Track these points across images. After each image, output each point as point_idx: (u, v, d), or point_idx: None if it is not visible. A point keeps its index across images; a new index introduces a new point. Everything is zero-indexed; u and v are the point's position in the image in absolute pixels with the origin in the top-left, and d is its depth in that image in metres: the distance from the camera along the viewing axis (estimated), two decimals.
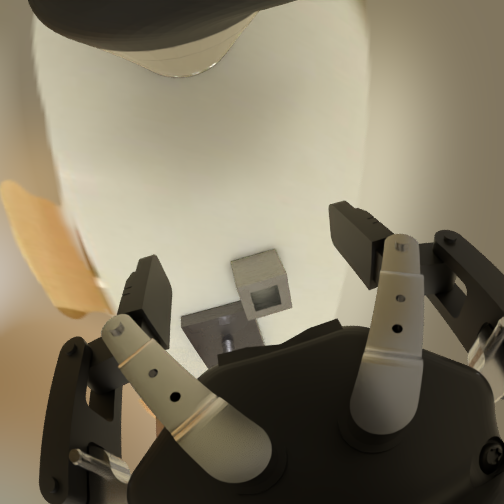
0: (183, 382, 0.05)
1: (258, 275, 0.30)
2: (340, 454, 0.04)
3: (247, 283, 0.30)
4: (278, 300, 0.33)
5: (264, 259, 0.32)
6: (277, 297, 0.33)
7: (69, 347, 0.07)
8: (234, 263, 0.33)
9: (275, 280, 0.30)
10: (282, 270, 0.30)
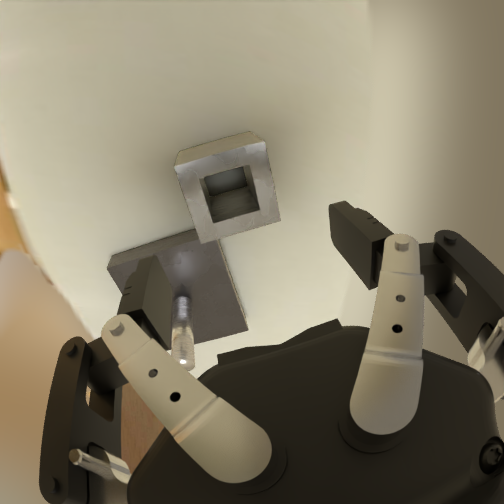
0: (183, 382, 0.05)
1: (215, 150, 0.16)
2: (340, 454, 0.04)
3: (194, 159, 0.16)
4: (255, 206, 0.18)
5: (230, 139, 0.18)
6: (254, 203, 0.19)
7: (69, 347, 0.07)
8: (183, 150, 0.19)
9: (244, 154, 0.16)
10: (257, 140, 0.16)
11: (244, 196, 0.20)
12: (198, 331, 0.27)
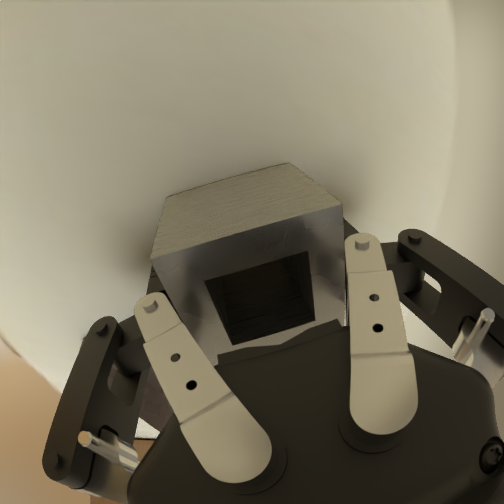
0: (202, 372, 0.05)
1: (234, 215, 0.08)
2: (340, 454, 0.04)
3: (192, 242, 0.08)
4: (304, 309, 0.10)
5: (259, 181, 0.10)
6: (300, 300, 0.11)
7: (100, 327, 0.07)
8: (174, 198, 0.11)
9: (301, 231, 0.08)
10: (323, 198, 0.08)
11: (279, 277, 0.12)
12: None
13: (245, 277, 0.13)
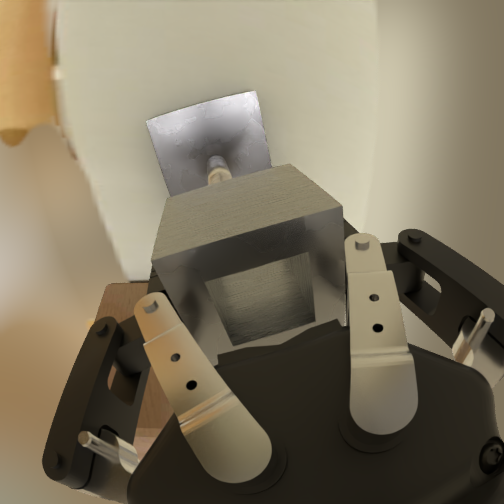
0: (202, 372, 0.05)
1: (235, 217, 0.08)
2: (340, 454, 0.04)
3: (192, 243, 0.08)
4: (304, 310, 0.10)
5: (259, 183, 0.10)
6: (301, 301, 0.11)
7: (100, 326, 0.07)
8: (174, 199, 0.11)
9: (301, 233, 0.08)
10: (323, 199, 0.08)
11: (280, 278, 0.12)
12: None
13: (245, 278, 0.13)
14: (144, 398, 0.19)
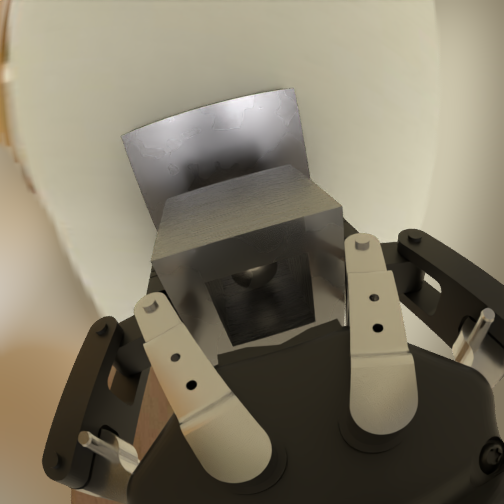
0: (203, 372, 0.05)
1: (235, 217, 0.08)
2: (340, 454, 0.04)
3: (192, 244, 0.08)
4: (304, 310, 0.10)
5: (259, 183, 0.10)
6: (300, 301, 0.11)
7: (100, 326, 0.07)
8: (174, 200, 0.11)
9: (301, 233, 0.08)
10: (323, 200, 0.08)
11: (280, 278, 0.12)
12: None
13: None
14: None
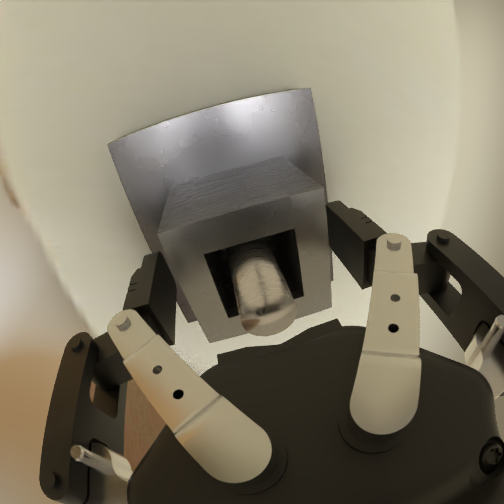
0: (187, 380, 0.05)
1: (231, 198, 0.09)
2: (340, 454, 0.04)
3: (194, 219, 0.09)
4: (294, 287, 0.12)
5: (253, 172, 0.11)
6: (291, 279, 0.12)
7: (75, 342, 0.07)
8: (177, 187, 0.12)
9: (288, 211, 0.09)
10: (308, 183, 0.09)
11: None
12: None
13: None
14: None
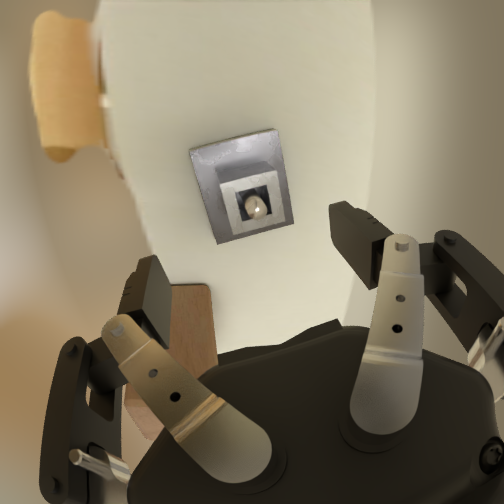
0: (183, 382, 0.05)
1: (244, 174, 0.26)
2: (340, 454, 0.04)
3: (232, 180, 0.26)
4: (269, 211, 0.28)
5: (252, 166, 0.28)
6: (267, 209, 0.29)
7: (69, 347, 0.07)
8: (220, 172, 0.29)
9: (264, 178, 0.26)
10: (271, 169, 0.26)
11: None
12: None
13: None
14: None
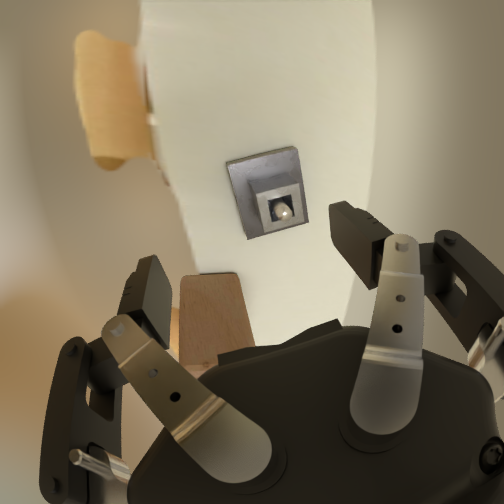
0: (183, 382, 0.05)
1: (274, 186, 0.34)
2: (340, 454, 0.04)
3: (265, 190, 0.34)
4: None
5: (278, 178, 0.36)
6: None
7: (70, 347, 0.07)
8: (252, 182, 0.37)
9: (289, 189, 0.34)
10: (294, 182, 0.34)
11: None
12: None
13: None
14: (232, 344, 0.33)
